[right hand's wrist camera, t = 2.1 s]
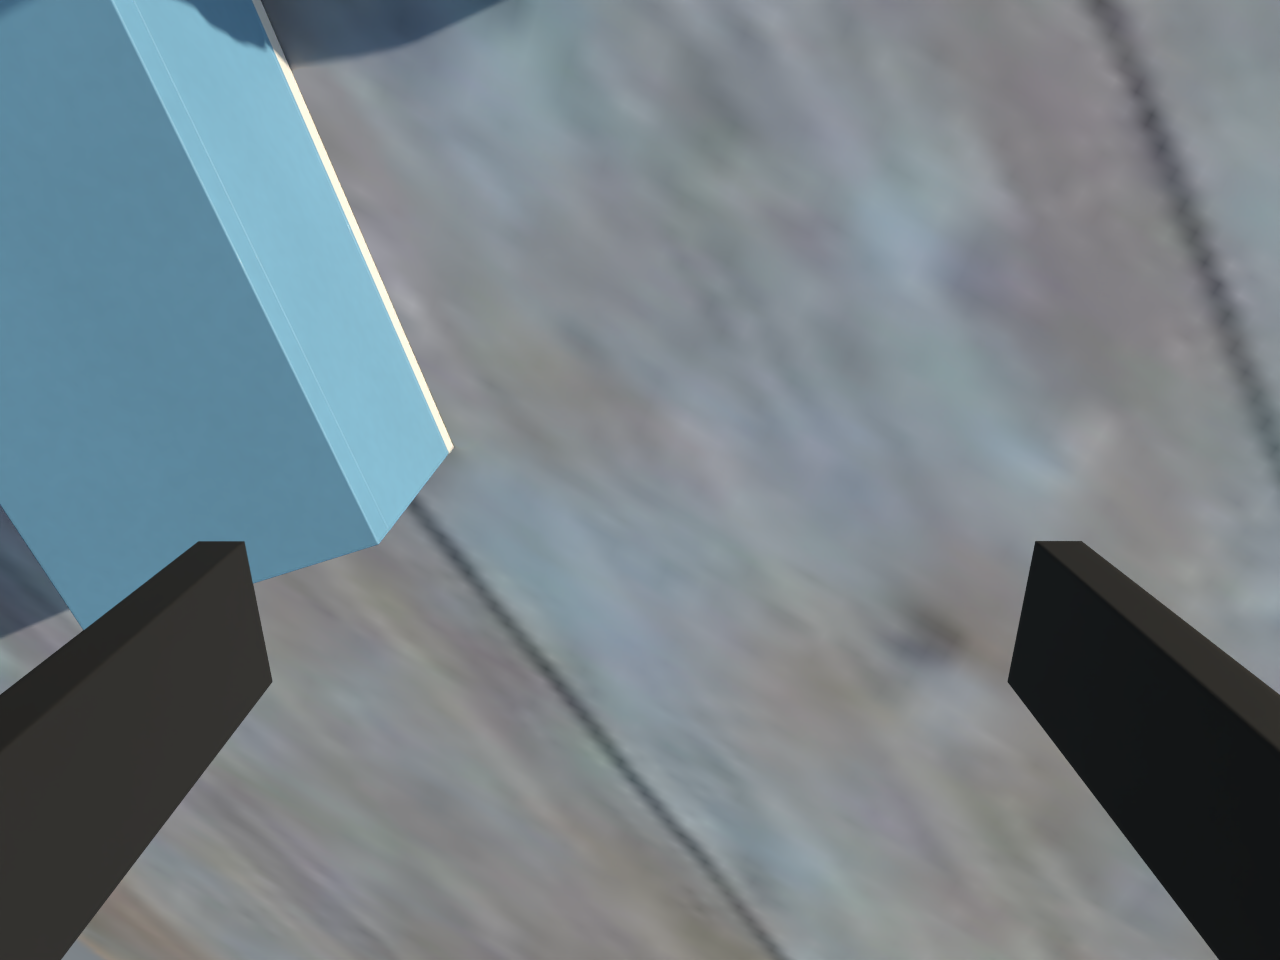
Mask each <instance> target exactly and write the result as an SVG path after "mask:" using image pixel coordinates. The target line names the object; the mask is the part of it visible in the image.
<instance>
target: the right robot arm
mask: <svg viewBox="0 0 1280 960" xmlns="http://www.w3.org/2000/svg"><path fill="white" fill-rule="evenodd" d="M271 683H272V677H271V672H270V667H269V662H268V657H267V652H266V647H265V642H264V637H263V632H262V627H261V622H260V617H259V611H258V606H257V601H256V596H255V591H254V586H253V581H252V576H251V571H250V566H249V561H248V556H247V551H246V546H245V541H198V542H197V543H195V544H194V545H193V546H192V547H190V548H189V549H188V550H186V551H185V552H184V553H183V554H181V555H180V556H179V557H177V558H176V559H175V560H174V561H172V562H171V563H170V564H168V565H167V566H166V567H165V568H163V569H162V570H161V571H159V572H158V573H157V574H156V575H154V576H153V577H152V578H150V579H149V580H148V581H146V582H145V583H144V584H143V585H141V586H140V587H139V588H137V589H136V590H135V591H134V592H132V593H131V594H130V595H128V596H127V597H126V598H125V599H123V600H122V601H121V602H119V603H118V604H117V605H116V606H114V607H113V608H112V609H110V610H109V611H108V612H107V613H105V614H104V615H103V616H101V617H100V618H99V619H97V620H96V621H95V622H94V623H92V624H91V625H90V626H88V627H87V628H86V629H85V630H83V631H82V632H81V633H79V634H78V635H77V636H76V637H74V638H73V639H72V640H70V641H69V642H68V643H67V644H65V645H64V646H63V647H61V648H60V649H59V650H58V651H56V652H55V653H54V654H52V655H51V656H50V657H48V658H47V659H46V660H45V661H43V662H42V663H41V664H39V665H38V666H37V667H36V668H34V669H33V670H32V671H30V672H29V673H28V674H27V675H25V676H24V677H23V678H21V679H20V680H19V681H18V682H16V683H15V684H14V685H12V686H11V687H10V688H9V689H7V690H6V691H5V692H3V693H2V694H1V695H0V960H61V959H62V958H63V956H64V955H65V954H66V952H67V951H68V950H69V948H70V947H71V946H72V944H73V943H74V942H75V941H76V939H77V938H78V937H79V935H80V934H81V933H82V931H83V930H84V929H85V927H86V926H87V925H88V923H89V922H90V921H91V919H92V918H93V917H94V916H95V914H96V913H97V912H98V910H99V909H100V908H101V906H102V905H103V904H104V902H105V901H106V900H107V898H108V897H109V896H110V895H111V893H112V892H113V891H114V889H115V888H116V887H117V885H118V884H119V883H120V881H121V880H122V879H123V877H124V876H125V875H126V874H127V872H128V871H129V870H130V868H131V867H132V866H133V864H134V863H135V862H136V860H137V859H138V858H139V856H140V855H141V854H142V852H143V851H144V850H145V849H146V847H147V846H148V845H149V843H150V842H151V841H152V839H153V838H154V837H155V835H156V834H157V833H158V831H159V830H160V829H161V828H162V826H163V825H164V824H165V822H166V821H167V820H168V818H169V817H170V816H171V814H172V813H173V812H174V810H175V809H176V808H177V806H178V805H179V804H180V803H181V801H182V800H183V799H184V797H185V796H186V795H187V793H188V792H189V791H190V789H191V788H192V787H193V785H194V784H195V783H196V782H197V780H198V779H199V778H200V776H201V775H202V774H203V772H204V771H205V770H206V768H207V767H208V766H209V764H210V763H211V762H212V760H213V759H214V758H215V757H216V755H217V754H218V753H219V751H220V750H221V749H222V747H223V746H224V745H225V743H226V742H227V741H228V739H229V738H230V737H231V736H232V734H233V733H234V732H235V730H236V729H237V728H238V726H239V725H240V724H241V722H242V721H243V720H244V718H245V717H246V716H247V715H248V713H249V712H250V711H251V709H252V708H253V707H254V705H255V704H256V703H257V701H258V700H259V699H260V697H261V696H262V695H263V693H264V692H265V691H266V690H267V688H268V687H269V686H270V684H271ZM1008 683H1009V684H1010V686H1011V687H1012V688H1013V690H1014V691H1015V692H1016V693H1017V695H1018V696H1019V697H1020V699H1021V700H1022V701H1023V703H1024V704H1025V705H1026V707H1027V708H1028V709H1029V711H1030V712H1031V713H1032V715H1033V716H1034V717H1035V718H1036V720H1037V721H1038V722H1039V724H1040V725H1041V726H1042V728H1043V729H1044V730H1045V732H1046V733H1047V734H1048V736H1049V737H1050V738H1051V739H1052V741H1053V742H1054V743H1055V745H1056V746H1057V747H1058V749H1059V750H1060V751H1061V753H1062V754H1063V755H1064V757H1065V758H1066V759H1067V760H1068V762H1069V763H1070V764H1071V766H1072V767H1073V768H1074V770H1075V771H1076V772H1077V774H1078V775H1079V776H1080V778H1081V779H1082V780H1083V782H1084V783H1085V784H1086V785H1087V787H1088V788H1089V789H1090V791H1091V792H1092V793H1093V795H1094V796H1095V797H1096V799H1097V800H1098V801H1099V803H1100V804H1101V805H1102V806H1103V808H1104V809H1105V810H1106V812H1107V813H1108V814H1109V816H1110V817H1111V818H1112V820H1113V821H1114V822H1115V824H1116V825H1117V826H1118V828H1119V829H1120V830H1121V831H1122V833H1123V834H1124V835H1125V837H1126V838H1127V839H1128V841H1129V842H1130V843H1131V845H1132V846H1133V847H1134V849H1135V850H1136V851H1137V852H1138V854H1139V855H1140V856H1141V858H1142V859H1143V860H1144V862H1145V863H1146V864H1147V866H1148V867H1149V868H1150V870H1151V871H1152V872H1153V874H1154V875H1155V876H1156V877H1157V879H1158V880H1159V881H1160V883H1161V884H1162V885H1163V887H1164V888H1165V889H1166V891H1167V892H1168V893H1169V895H1170V896H1171V897H1172V898H1173V900H1174V901H1175V902H1176V904H1177V905H1178V906H1179V908H1180V909H1181V910H1182V912H1183V913H1184V914H1185V916H1186V917H1187V918H1188V919H1189V921H1190V922H1191V923H1192V925H1193V926H1194V927H1195V929H1196V930H1197V931H1198V933H1199V934H1200V935H1201V937H1202V938H1203V939H1204V941H1205V942H1206V943H1207V944H1208V946H1209V947H1210V948H1211V950H1212V951H1213V952H1214V954H1215V955H1216V956H1217V958H1218V959H1219V960H1280V695H1279V694H1278V693H1277V692H1275V691H1274V690H1273V689H1271V688H1270V687H1269V686H1268V685H1266V684H1265V683H1264V682H1262V681H1261V680H1260V679H1259V678H1257V677H1256V676H1255V675H1253V674H1252V673H1251V672H1250V671H1248V670H1247V669H1246V668H1244V667H1243V666H1242V665H1241V664H1239V663H1238V662H1237V661H1235V660H1234V659H1233V658H1232V657H1230V656H1229V655H1228V654H1226V653H1225V652H1224V651H1222V650H1221V649H1220V648H1219V647H1217V646H1216V645H1215V644H1213V643H1212V642H1211V641H1210V640H1208V639H1207V638H1206V637H1204V636H1203V635H1202V634H1201V633H1199V632H1198V631H1197V630H1195V629H1194V628H1193V627H1192V626H1190V625H1189V624H1188V623H1186V622H1185V621H1184V620H1183V619H1181V618H1180V617H1179V616H1177V615H1176V614H1175V613H1173V612H1172V611H1171V610H1170V609H1168V608H1167V607H1166V606H1164V605H1163V604H1162V603H1161V602H1159V601H1158V600H1157V599H1155V598H1154V597H1153V596H1152V595H1150V594H1149V593H1148V592H1146V591H1145V590H1144V589H1143V588H1141V587H1140V586H1139V585H1137V584H1136V583H1135V582H1134V581H1132V580H1131V579H1130V578H1128V577H1127V576H1126V575H1124V574H1123V573H1122V572H1121V571H1119V570H1118V569H1117V568H1115V567H1114V566H1113V565H1112V564H1110V563H1109V562H1108V561H1106V560H1105V559H1104V558H1103V557H1101V556H1100V555H1099V554H1097V553H1096V552H1095V551H1094V550H1092V549H1091V548H1090V547H1088V546H1087V545H1086V544H1085V543H1083V542H1082V541H1035V546H1034V551H1033V556H1032V561H1031V566H1030V571H1029V576H1028V581H1027V586H1026V591H1025V596H1024V601H1023V606H1022V611H1021V616H1020V622H1019V627H1018V632H1017V637H1016V642H1015V647H1014V652H1013V657H1012V662H1011V667H1010V672H1009V677H1008Z"/></svg>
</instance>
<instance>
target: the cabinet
mask: <svg viewBox="0 0 1280 960" xmlns="http://www.w3.org/2000/svg"><path fill="white" fill-rule="evenodd" d="M453 448H454V447H453V444H452V442H451V440H450V438H449V435H448V433H447V431H446V428H445V426H444V424H443V421H442V419H441V417H440V414H439V412H438V410H437V407H436V405H435V403H434V400H433V398H432V396H431V394H430V391H429V389H428V387H427V384H426V382H425V380H424V377H423V375H422V373H421V370H420V368H419V366H418V363H417V361H416V359H415V357H414V354H413V352H412V350H411V347H410V345H409V343H408V340H407V338H406V336H405V333H404V331H403V329H402V326H401V324H400V322H399V319H398V317H397V315H396V313H395V310H394V308H393V306H392V303H391V301H390V299H389V296H388V294H387V292H386V289H385V287H384V285H383V282H382V280H381V278H380V276H379V273H378V271H377V269H376V266H375V264H374V262H373V259H372V257H371V255H370V252H369V250H368V248H367V245H366V243H365V241H364V238H363V236H362V234H361V232H360V229H359V227H358V225H357V222H356V220H355V218H354V215H353V213H352V211H351V208H350V206H349V204H348V201H347V199H346V197H345V194H344V192H343V190H342V188H341V185H340V183H339V181H338V178H337V176H336V174H335V171H334V169H333V167H332V164H331V162H330V160H329V157H328V155H327V153H326V151H325V148H324V146H323V144H322V141H321V139H320V137H319V134H318V132H317V130H316V127H315V125H314V123H313V120H312V118H311V116H310V113H309V111H308V109H307V107H306V104H305V102H304V100H303V97H302V95H301V93H300V90H299V88H298V86H297V83H296V81H295V79H294V76H293V74H292V72H291V70H290V67H289V65H288V63H287V60H286V58H285V56H284V53H283V51H282V49H281V46H280V44H279V42H278V39H277V37H276V35H275V32H274V30H273V28H272V26H271V23H270V21H269V19H268V16H267V14H266V12H265V9H264V7H263V5H262V2H261V0H0V505H1V507H2V508H3V510H4V511H5V513H6V514H7V516H8V517H9V519H10V520H11V522H12V523H13V525H14V526H15V528H16V529H17V531H18V532H19V534H20V535H21V537H22V538H23V540H24V541H25V543H26V544H27V546H28V547H29V549H30V550H31V552H32V553H33V555H34V556H35V558H36V559H37V561H38V562H39V564H40V565H41V567H42V568H43V570H44V571H45V573H46V575H47V576H48V578H49V579H50V581H51V582H52V584H53V585H54V587H55V588H56V590H57V591H58V593H59V594H60V596H61V597H62V599H63V600H64V602H65V603H66V605H67V606H68V608H69V609H70V611H71V612H72V614H73V615H74V617H75V618H76V620H77V621H78V623H79V624H80V626H81V627H82V629H83V630H85V629H86V628H87V627H88V626H90V625H91V624H92V623H94V622H95V621H96V620H97V619H99V618H100V617H101V616H103V615H104V614H105V613H107V612H108V611H109V610H110V609H112V608H113V607H114V606H116V605H117V604H118V603H119V602H121V601H122V600H123V599H125V598H126V597H127V596H128V595H130V594H131V593H132V592H134V591H135V590H136V589H137V588H139V587H140V586H141V585H143V584H144V583H145V582H146V581H148V580H149V579H150V578H152V577H153V576H154V575H156V574H157V573H158V572H159V571H161V570H162V569H163V568H165V567H166V566H167V565H168V564H170V563H171V562H172V561H174V560H175V559H176V558H177V557H179V556H180V555H181V554H183V553H184V552H185V551H186V550H188V549H189V548H190V547H192V546H193V545H194V544H195V543H197V542H198V541H245V546H246V551H247V556H248V561H249V566H250V571H251V576H252V581H253V583H256V582H259V581H263V580H266V579H269V578H272V577H275V576H279V575H282V574H285V573H288V572H291V571H295V570H298V569H301V568H304V567H308V566H311V565H314V564H317V563H320V562H324V561H327V560H330V559H333V558H336V557H340V556H343V555H346V554H349V553H352V552H356V551H359V550H362V549H365V548H368V547H372V546H375V545H378V544H379V543H380V542H381V541H382V539H383V538H384V537H385V535H386V534H387V533H388V531H389V530H390V529H391V528H392V526H393V525H394V524H395V523H396V521H397V520H398V519H399V517H400V516H401V515H402V513H403V512H404V511H405V510H406V508H407V507H408V506H409V504H410V503H411V502H412V500H413V499H414V498H415V497H416V495H417V494H418V493H419V491H420V490H421V489H422V487H423V486H424V485H425V483H426V482H427V481H428V480H429V478H430V477H431V476H432V474H433V473H434V472H435V470H436V469H437V468H438V467H439V465H440V464H441V463H442V461H443V460H444V459H445V457H446V456H447V454H449V453H450V452H451V451H452V449H453Z"/></svg>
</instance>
